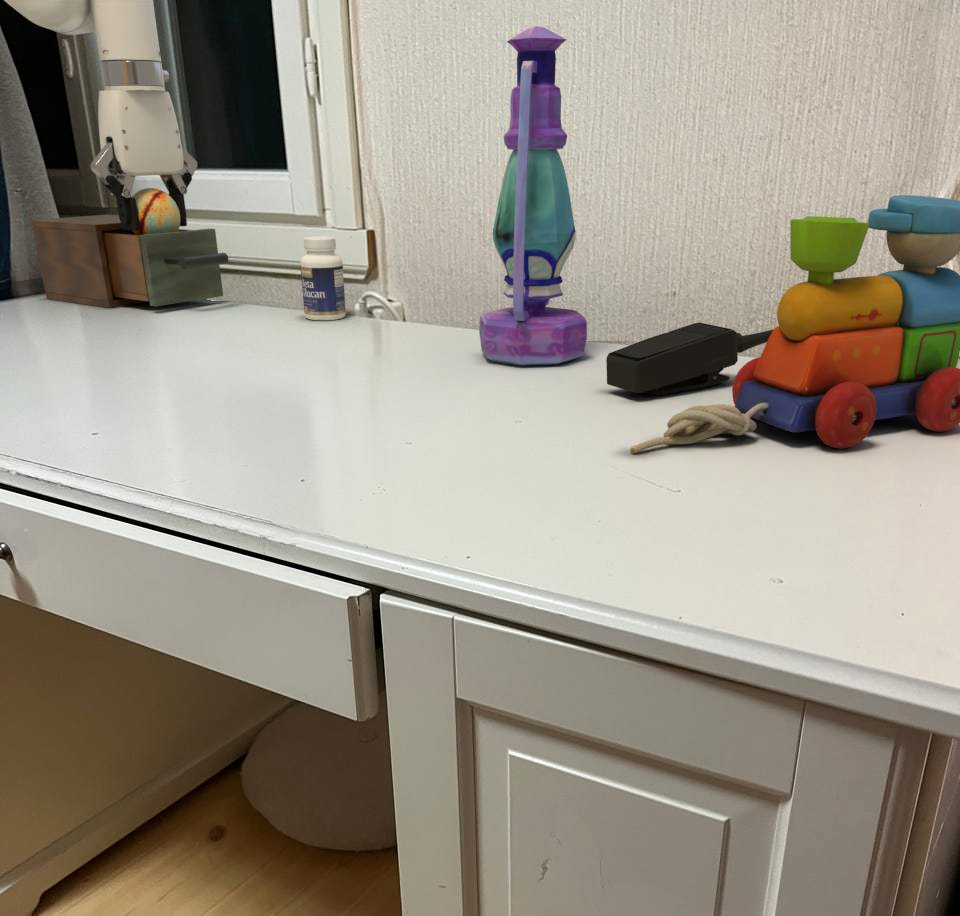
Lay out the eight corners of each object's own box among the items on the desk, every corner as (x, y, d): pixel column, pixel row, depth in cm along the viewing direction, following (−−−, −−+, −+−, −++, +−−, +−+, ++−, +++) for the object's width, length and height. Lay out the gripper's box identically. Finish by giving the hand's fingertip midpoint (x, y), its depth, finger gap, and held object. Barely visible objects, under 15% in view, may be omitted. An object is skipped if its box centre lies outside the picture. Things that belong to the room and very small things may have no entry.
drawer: (246, 298, 138) (238, 230, 134) (178, 309, 130) (167, 237, 126) (160, 288, 148) (150, 224, 144) (92, 297, 140) (80, 230, 136)
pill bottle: (297, 320, 127) (290, 238, 123) (315, 313, 132) (309, 235, 127) (335, 321, 126) (329, 239, 121) (352, 315, 131) (347, 235, 126)
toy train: (593, 436, 77) (604, 203, 69) (872, 396, 88) (907, 191, 80) (686, 480, 67) (710, 214, 60) (987, 429, 78) (1040, 198, 70)
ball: (120, 245, 134) (111, 189, 131) (150, 240, 140) (142, 186, 137) (165, 246, 132) (157, 189, 129) (193, 241, 138) (186, 187, 135)
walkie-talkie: (590, 365, 91) (749, 322, 99) (621, 421, 90) (779, 374, 98) (619, 323, 85) (784, 282, 94) (653, 383, 84) (817, 336, 92)
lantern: (495, 343, 112) (494, 34, 98) (596, 348, 109) (610, 30, 95) (461, 367, 100) (455, 21, 87) (574, 372, 98) (586, 16, 84)
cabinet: (184, 296, 147) (173, 218, 142) (109, 308, 138) (94, 224, 133) (120, 288, 155) (108, 214, 150) (46, 298, 146) (30, 220, 141)
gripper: (171, 82, 135) (189, 222, 143) (55, 77, 123) (83, 231, 131) (206, 80, 131) (223, 224, 139) (90, 75, 119) (116, 233, 127)
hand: (155, 226), depth 135 cm, fingers closed on ball, 7 cm apart
